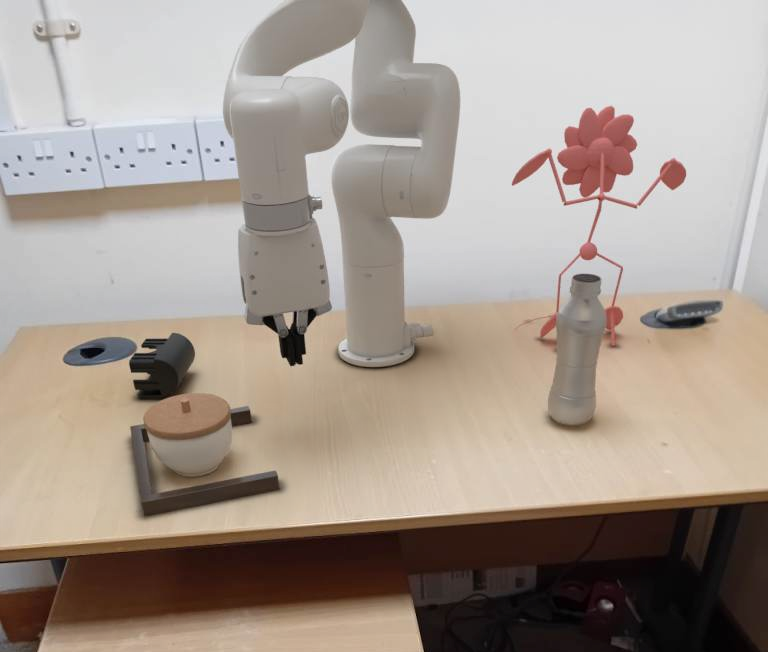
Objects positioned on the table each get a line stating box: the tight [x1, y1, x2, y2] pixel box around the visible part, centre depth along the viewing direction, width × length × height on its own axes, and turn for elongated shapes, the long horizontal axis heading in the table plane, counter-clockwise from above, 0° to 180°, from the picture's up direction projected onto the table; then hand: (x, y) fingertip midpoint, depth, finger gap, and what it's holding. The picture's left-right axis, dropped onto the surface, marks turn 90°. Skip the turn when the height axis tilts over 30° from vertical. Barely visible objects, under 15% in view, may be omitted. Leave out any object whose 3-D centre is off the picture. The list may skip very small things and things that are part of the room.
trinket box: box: [142, 392, 233, 478], centre depth 100 cm, size 11×11×9 cm
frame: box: [129, 405, 280, 517], centre depth 103 cm, size 16×20×2 cm
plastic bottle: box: [547, 273, 607, 426], centre depth 105 cm, size 6×7×20 cm
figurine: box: [511, 105, 687, 347], centre depth 125 cm, size 15×26×35 cm, turn 98°
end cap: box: [128, 332, 196, 400], centre depth 121 cm, size 10×7×7 cm
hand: (294, 360), depth 100 cm, fingers closed
